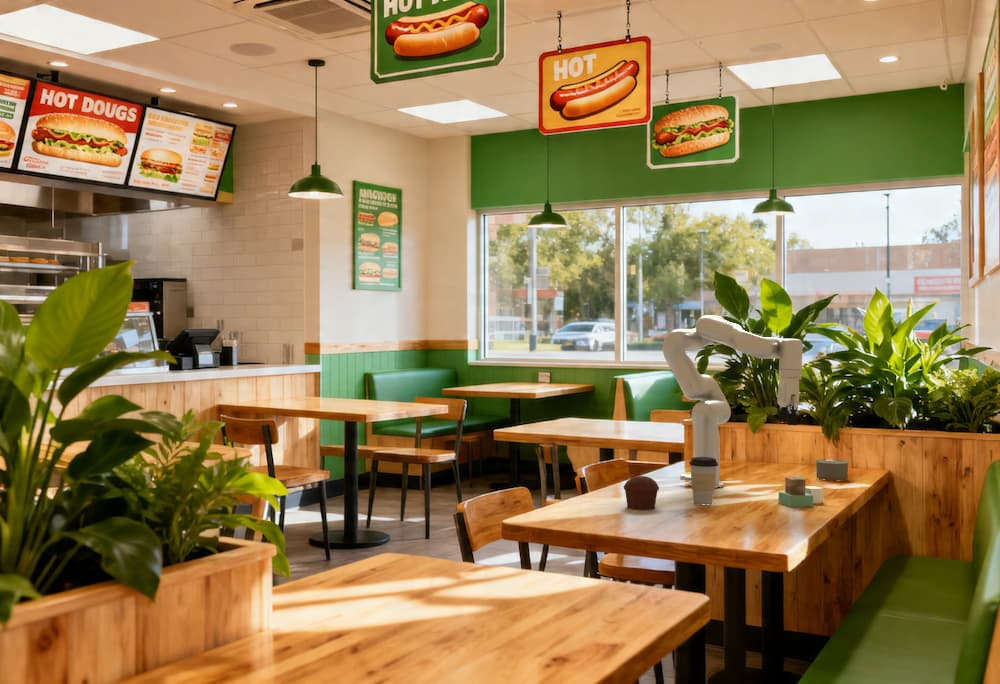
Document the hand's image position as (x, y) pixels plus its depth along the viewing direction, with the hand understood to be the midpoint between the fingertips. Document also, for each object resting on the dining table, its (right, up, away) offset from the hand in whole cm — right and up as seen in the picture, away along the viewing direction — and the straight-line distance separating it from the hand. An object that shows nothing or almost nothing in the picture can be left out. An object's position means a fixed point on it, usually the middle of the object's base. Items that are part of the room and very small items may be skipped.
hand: (787, 423), depth 327 cm
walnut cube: (-2, -22, -15) cm, 27 cm away
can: (+30, -26, +40) cm, 56 cm away
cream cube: (+5, -26, -10) cm, 28 cm away
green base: (-2, -26, -16) cm, 30 cm away
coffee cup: (-33, -26, -16) cm, 44 cm away
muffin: (-55, -26, -23) cm, 65 cm away
